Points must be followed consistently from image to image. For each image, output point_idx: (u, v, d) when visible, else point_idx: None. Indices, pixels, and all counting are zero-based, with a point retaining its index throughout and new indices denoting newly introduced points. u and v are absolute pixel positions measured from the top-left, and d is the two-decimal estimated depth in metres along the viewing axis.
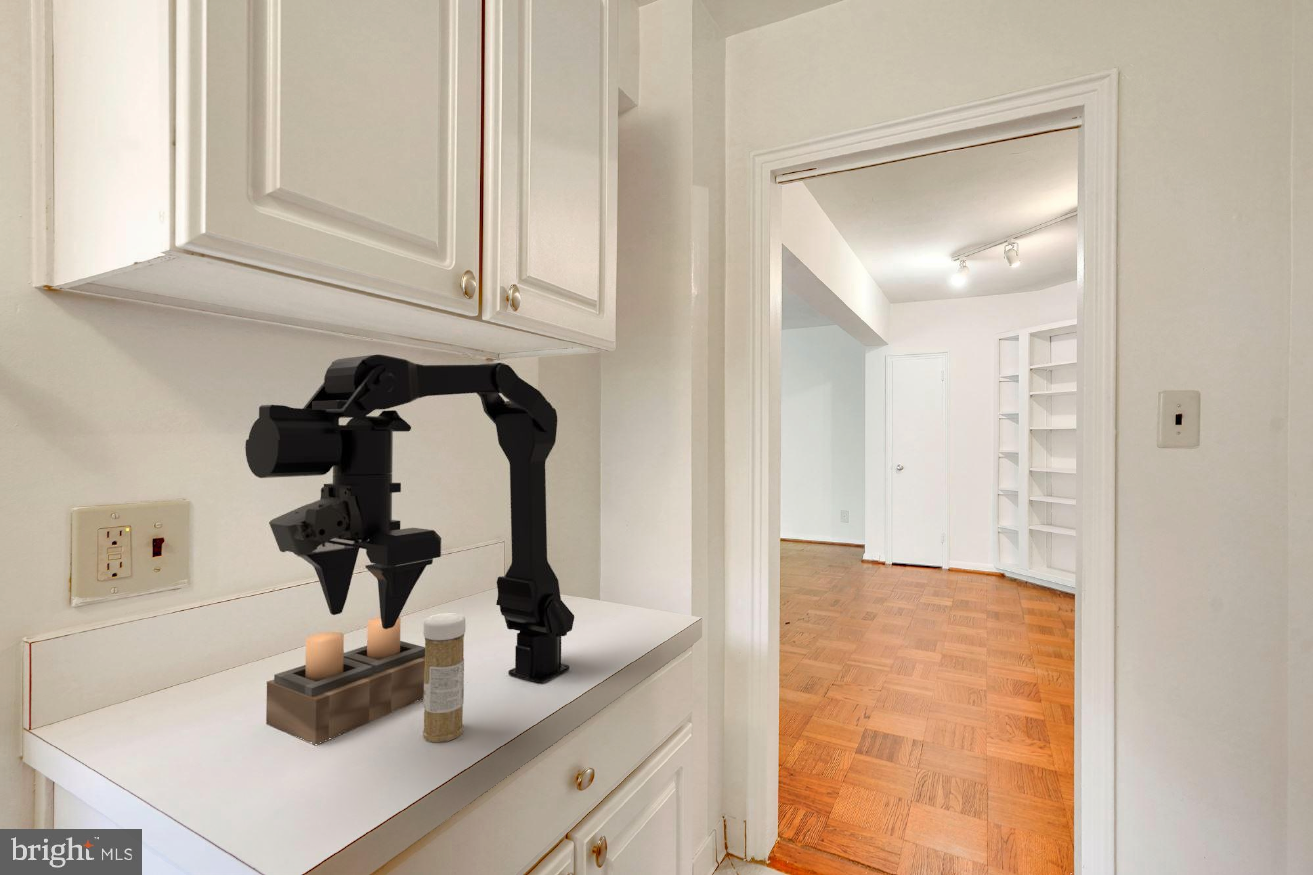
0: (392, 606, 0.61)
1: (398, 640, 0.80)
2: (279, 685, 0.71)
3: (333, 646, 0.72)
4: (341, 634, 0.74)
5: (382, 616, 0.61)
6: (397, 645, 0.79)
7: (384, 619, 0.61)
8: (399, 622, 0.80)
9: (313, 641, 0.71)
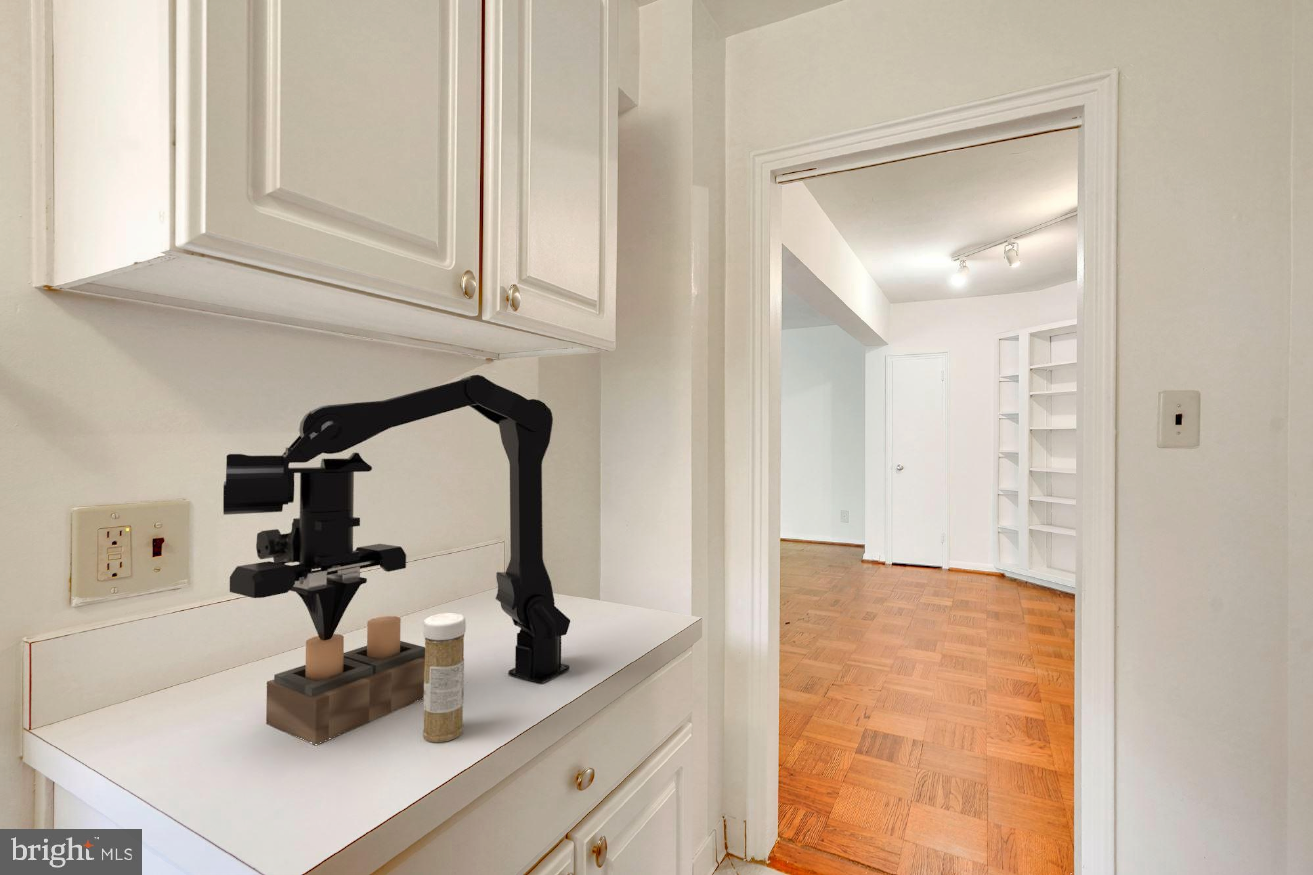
0: (316, 621, 0.72)
1: (398, 640, 0.80)
2: (279, 685, 0.71)
3: (333, 649, 0.72)
4: (341, 636, 0.74)
5: None
6: (397, 645, 0.79)
7: (317, 630, 0.73)
8: (399, 622, 0.80)
9: (312, 643, 0.71)
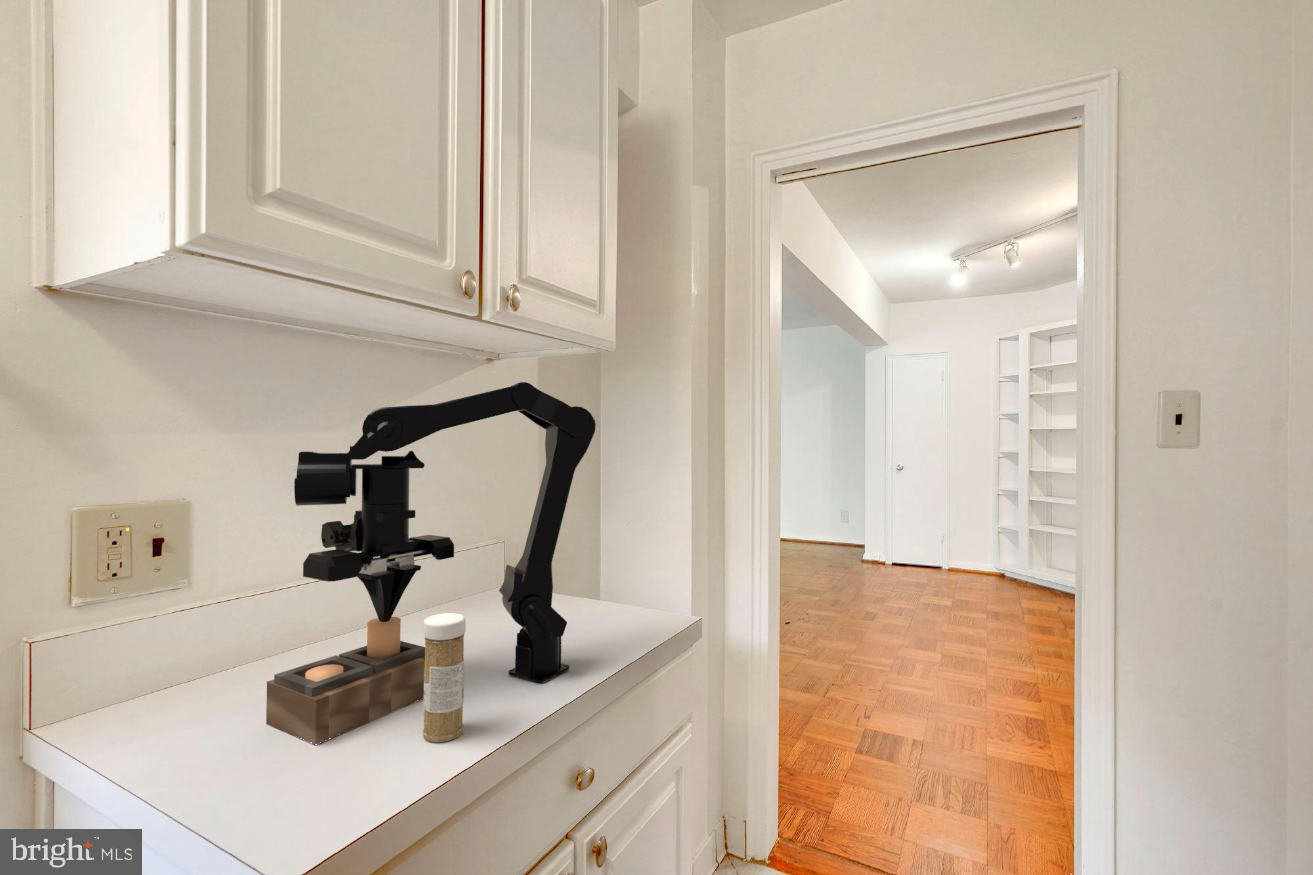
0: (376, 604, 0.79)
1: (398, 641, 0.80)
2: (279, 685, 0.71)
3: None
4: (341, 667, 0.74)
5: None
6: (397, 646, 0.79)
7: (377, 613, 0.80)
8: (399, 623, 0.80)
9: (312, 675, 0.71)
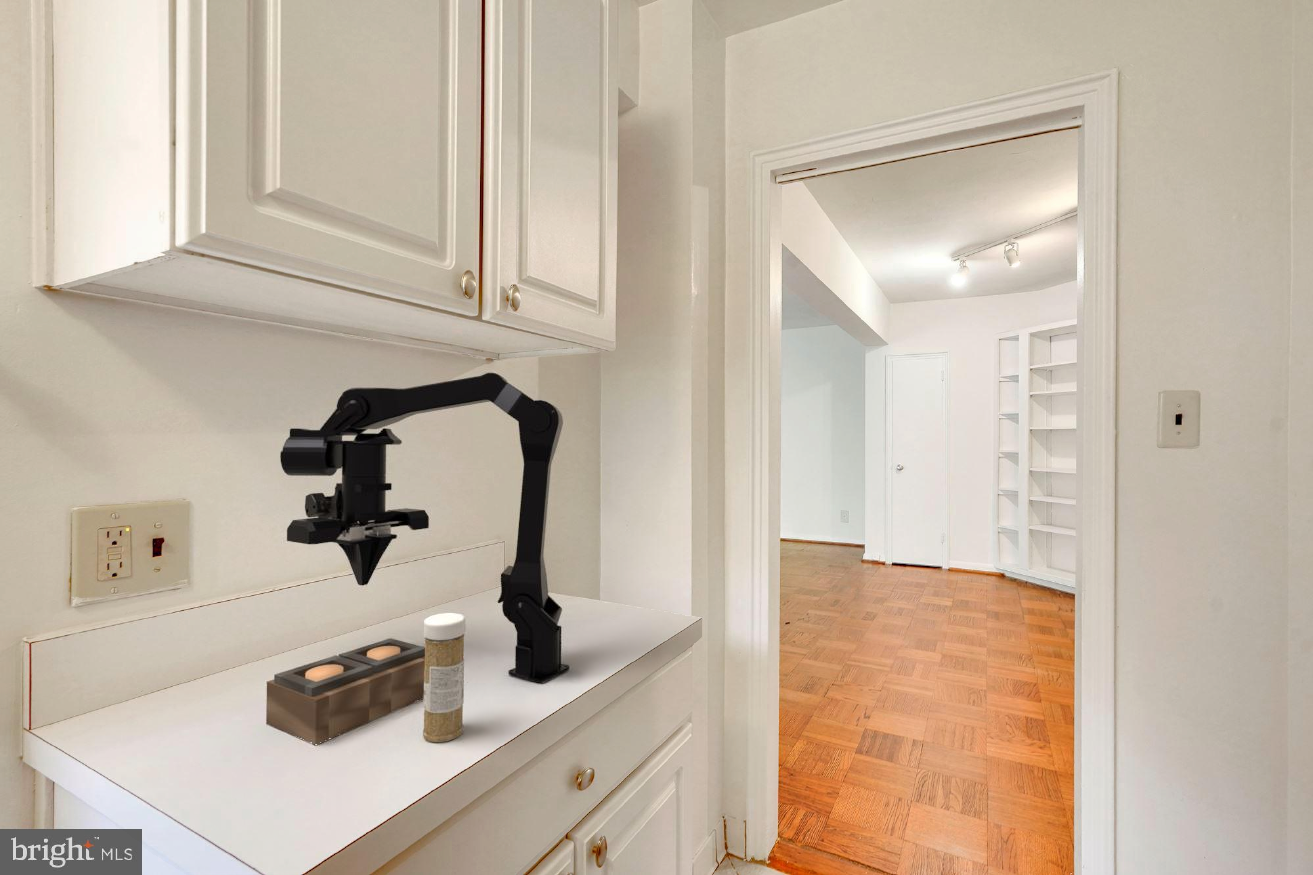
0: (355, 569, 0.86)
1: None
2: (279, 685, 0.71)
3: None
4: (341, 667, 0.74)
5: None
6: None
7: (355, 577, 0.87)
8: (399, 652, 0.80)
9: (312, 675, 0.71)
